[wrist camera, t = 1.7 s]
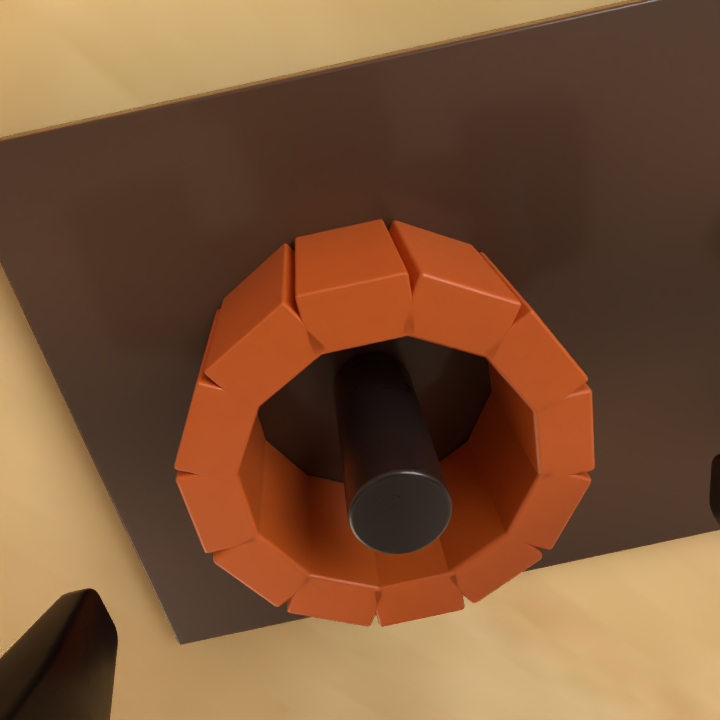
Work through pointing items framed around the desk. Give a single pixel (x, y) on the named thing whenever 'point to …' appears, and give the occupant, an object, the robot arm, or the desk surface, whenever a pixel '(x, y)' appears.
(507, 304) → the ring
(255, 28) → the desk surface
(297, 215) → the peg board
